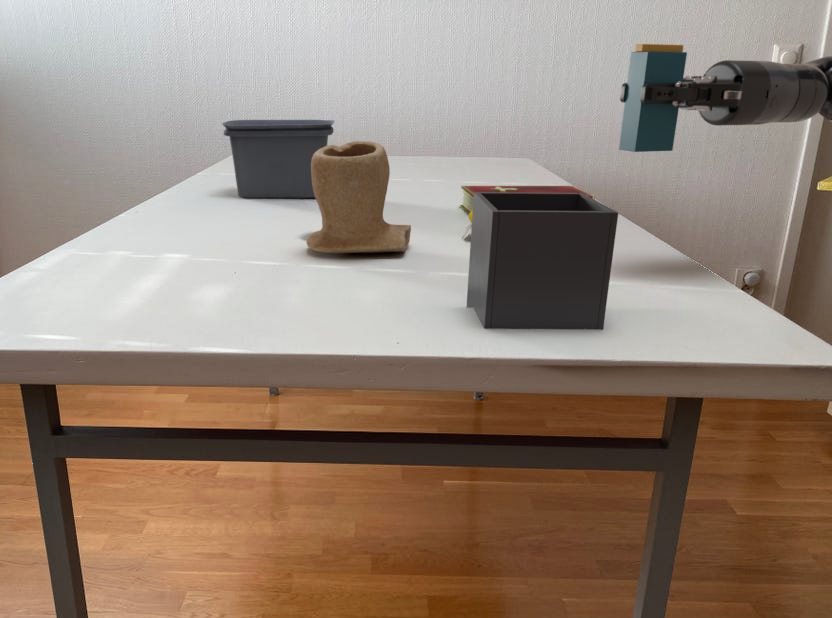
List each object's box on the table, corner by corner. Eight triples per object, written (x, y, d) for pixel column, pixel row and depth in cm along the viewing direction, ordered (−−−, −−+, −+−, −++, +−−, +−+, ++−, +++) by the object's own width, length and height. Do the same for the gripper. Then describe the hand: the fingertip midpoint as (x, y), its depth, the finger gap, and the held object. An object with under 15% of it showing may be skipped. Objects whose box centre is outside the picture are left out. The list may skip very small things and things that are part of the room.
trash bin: (569, 310, 84) (583, 192, 79) (601, 345, 73) (618, 212, 69) (466, 310, 84) (473, 191, 79) (483, 344, 73) (492, 211, 69)
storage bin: (222, 200, 149) (218, 122, 144) (234, 188, 164) (231, 117, 159) (333, 201, 149) (333, 124, 144) (335, 189, 164) (335, 118, 159)
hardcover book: (592, 218, 135) (595, 194, 134) (473, 219, 134) (475, 194, 132) (570, 206, 146) (572, 184, 145) (460, 207, 145) (461, 184, 143)
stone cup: (305, 263, 103) (304, 146, 98) (306, 243, 114) (305, 137, 109) (419, 262, 104) (424, 146, 98) (409, 243, 115) (413, 138, 109)
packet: (656, 148, 96) (671, 45, 92) (673, 150, 93) (689, 44, 89) (617, 149, 94) (630, 44, 90) (634, 152, 91) (648, 43, 87)
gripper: (710, 61, 101) (598, 59, 95) (802, 60, 88) (681, 58, 83) (700, 121, 103) (591, 123, 98) (788, 129, 91) (670, 131, 85)
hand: (633, 93), depth 90 cm, fingers closed on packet, 3 cm apart
